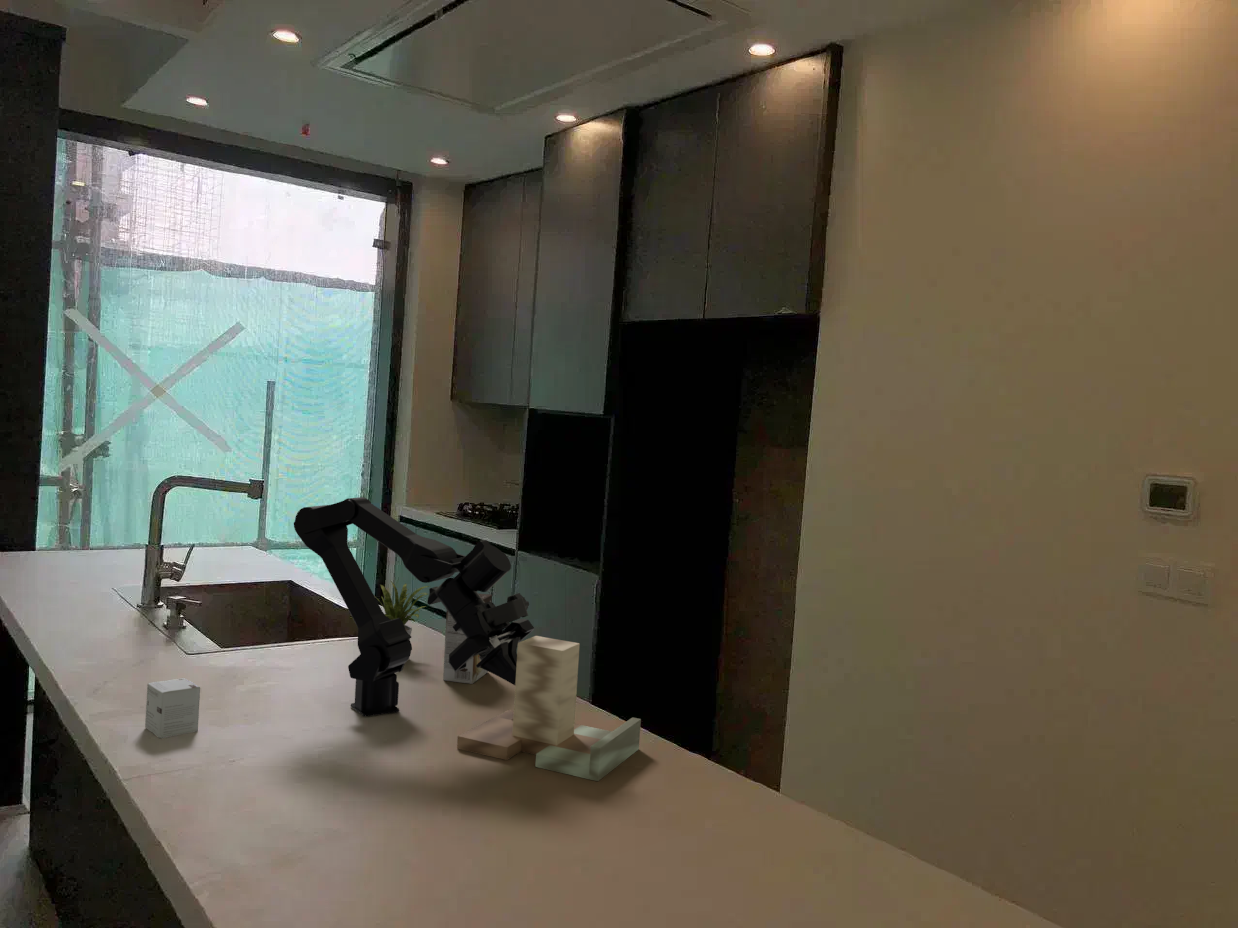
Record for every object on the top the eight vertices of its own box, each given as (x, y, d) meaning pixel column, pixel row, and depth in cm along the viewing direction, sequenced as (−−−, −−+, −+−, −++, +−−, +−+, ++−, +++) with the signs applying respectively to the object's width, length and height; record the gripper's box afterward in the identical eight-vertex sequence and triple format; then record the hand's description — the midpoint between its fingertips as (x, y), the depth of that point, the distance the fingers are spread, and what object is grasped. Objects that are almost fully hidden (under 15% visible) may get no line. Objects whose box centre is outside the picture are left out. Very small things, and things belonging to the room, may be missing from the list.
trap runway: (457, 748, 154) (458, 717, 154) (507, 721, 169) (509, 692, 168) (597, 781, 144) (600, 748, 144) (638, 749, 159) (640, 719, 159)
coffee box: (458, 668, 199) (463, 590, 198) (488, 672, 198) (493, 594, 197) (441, 680, 190) (446, 599, 189) (473, 684, 189) (477, 602, 188)
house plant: (446, 654, 209) (450, 579, 208) (412, 670, 196) (416, 589, 195) (388, 645, 214) (392, 571, 213) (351, 659, 201) (355, 581, 200)
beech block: (512, 735, 156) (517, 642, 155) (530, 725, 161) (535, 635, 160) (556, 745, 153) (562, 650, 152) (573, 734, 158) (579, 643, 157)
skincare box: (144, 728, 154) (146, 682, 153) (183, 721, 158) (184, 676, 158) (159, 739, 150) (161, 692, 149) (199, 731, 154) (201, 685, 154)
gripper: (468, 587, 151) (527, 669, 147) (527, 571, 168) (581, 644, 164) (423, 630, 154) (480, 711, 151) (485, 611, 171) (537, 683, 168)
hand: (522, 685), depth 158 cm, fingers closed
